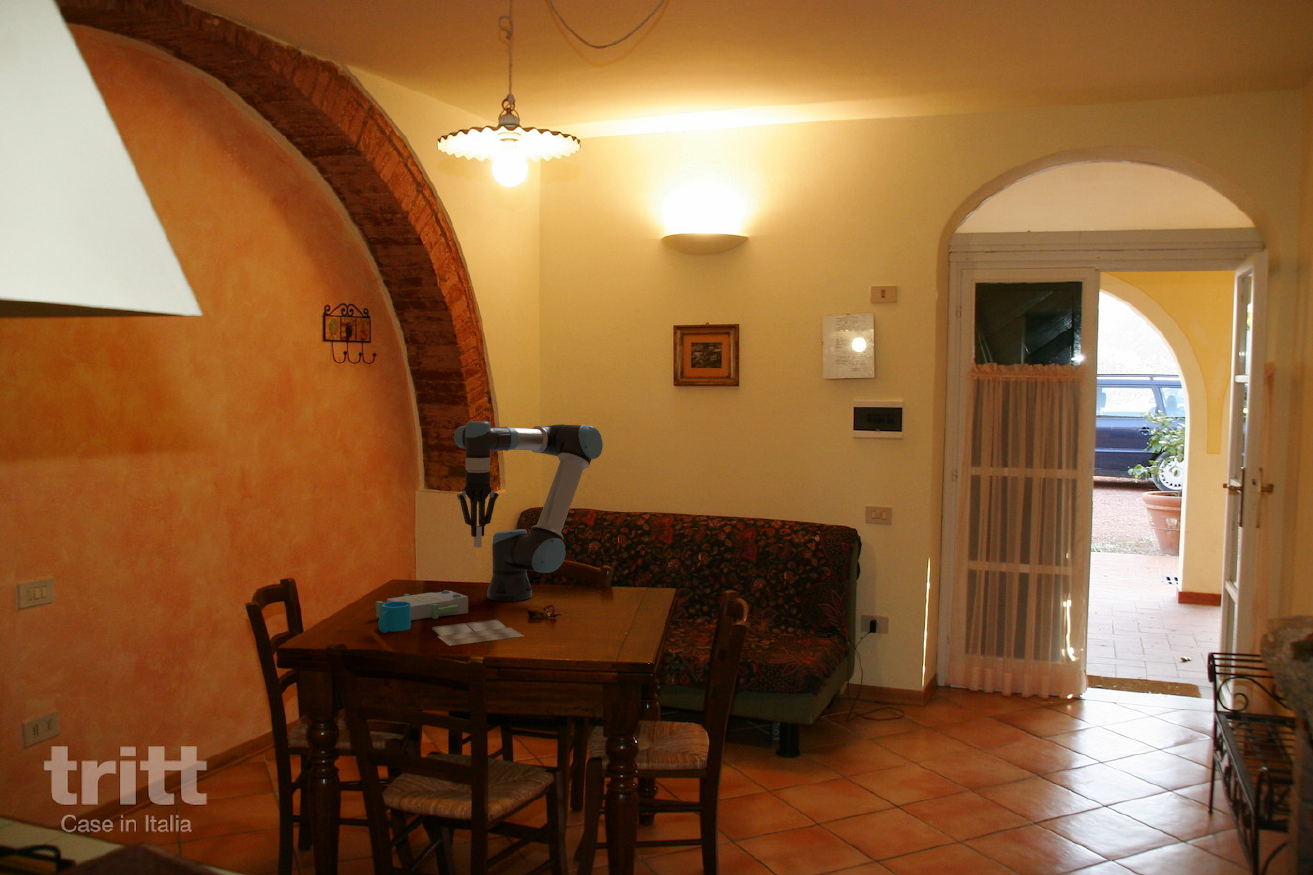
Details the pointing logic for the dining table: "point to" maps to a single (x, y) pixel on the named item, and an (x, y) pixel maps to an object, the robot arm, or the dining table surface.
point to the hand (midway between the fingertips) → (477, 546)
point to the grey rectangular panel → (485, 625)
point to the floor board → (479, 636)
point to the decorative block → (431, 604)
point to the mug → (395, 616)
